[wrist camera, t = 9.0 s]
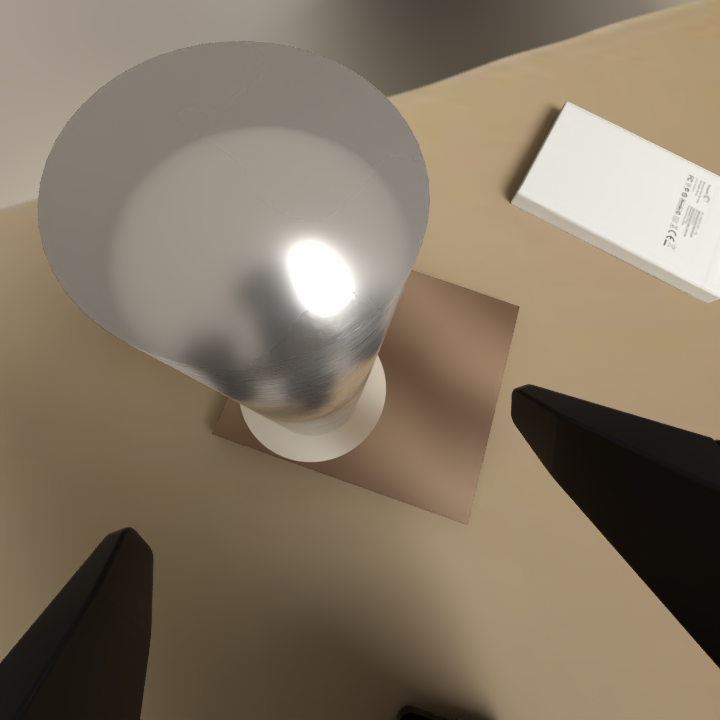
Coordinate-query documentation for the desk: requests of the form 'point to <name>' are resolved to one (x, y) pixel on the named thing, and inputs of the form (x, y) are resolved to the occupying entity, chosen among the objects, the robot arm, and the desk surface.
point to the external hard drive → (628, 200)
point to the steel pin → (241, 222)
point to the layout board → (410, 404)
